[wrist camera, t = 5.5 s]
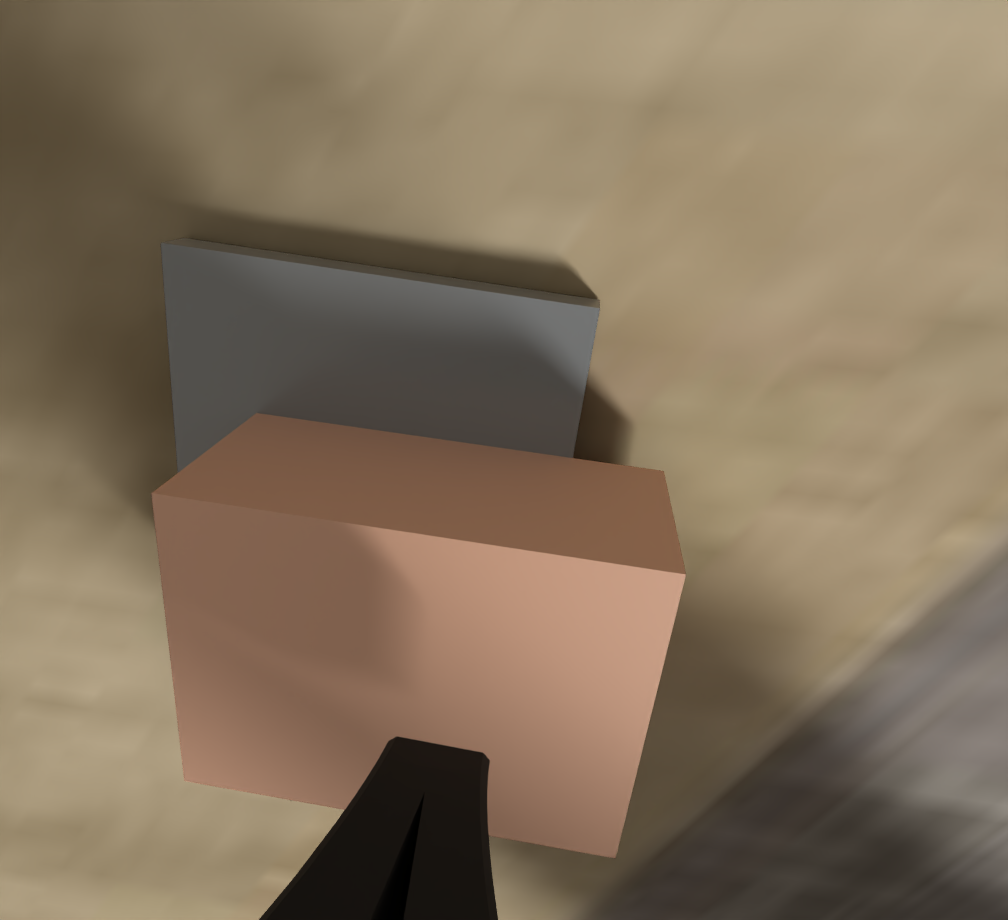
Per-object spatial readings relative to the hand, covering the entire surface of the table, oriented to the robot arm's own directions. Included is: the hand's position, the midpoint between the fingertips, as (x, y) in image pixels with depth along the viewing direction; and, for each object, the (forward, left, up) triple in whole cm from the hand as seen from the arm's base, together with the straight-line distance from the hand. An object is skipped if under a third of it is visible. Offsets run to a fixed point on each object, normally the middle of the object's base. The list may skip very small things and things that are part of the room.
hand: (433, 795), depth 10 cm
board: (+3, 0, -6) cm, 7 cm away
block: (-3, 0, -4) cm, 5 cm away
